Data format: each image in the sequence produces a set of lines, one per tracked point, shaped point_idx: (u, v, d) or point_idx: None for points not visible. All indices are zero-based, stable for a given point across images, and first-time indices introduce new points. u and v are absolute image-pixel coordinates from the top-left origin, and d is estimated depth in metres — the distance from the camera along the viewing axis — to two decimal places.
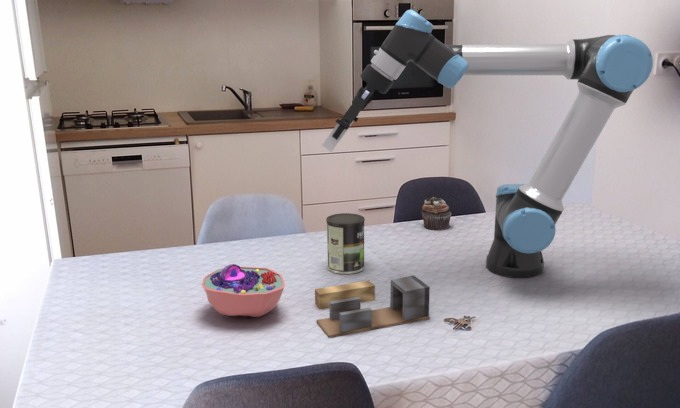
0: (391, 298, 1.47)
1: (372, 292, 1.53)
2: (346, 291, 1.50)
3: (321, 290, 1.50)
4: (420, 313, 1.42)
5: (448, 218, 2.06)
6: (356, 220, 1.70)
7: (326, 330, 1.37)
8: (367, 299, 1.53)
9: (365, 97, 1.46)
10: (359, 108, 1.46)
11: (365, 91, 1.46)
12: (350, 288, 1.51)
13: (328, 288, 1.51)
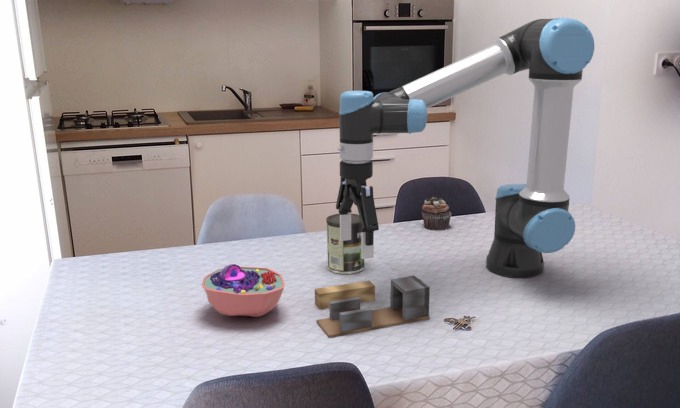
0: (391, 298, 1.47)
1: (372, 292, 1.53)
2: (346, 291, 1.50)
3: (321, 289, 1.51)
4: (420, 313, 1.42)
5: (448, 218, 2.06)
6: (356, 220, 1.70)
7: (326, 330, 1.37)
8: (367, 299, 1.53)
9: (369, 193, 1.41)
10: (373, 206, 1.40)
11: (366, 188, 1.40)
12: (350, 288, 1.51)
13: (328, 288, 1.51)
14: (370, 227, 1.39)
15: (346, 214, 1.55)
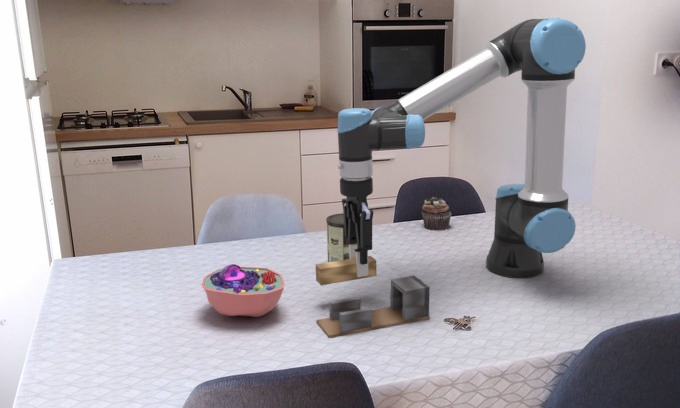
0: (391, 298, 1.47)
1: (374, 266, 1.51)
2: (347, 265, 1.49)
3: (322, 265, 1.49)
4: (420, 313, 1.42)
5: (448, 218, 2.06)
6: None
7: (326, 330, 1.37)
8: (369, 274, 1.51)
9: (369, 217, 1.43)
10: (370, 228, 1.44)
11: (366, 213, 1.42)
12: (351, 263, 1.50)
13: (329, 263, 1.50)
14: (364, 247, 1.45)
15: (355, 244, 1.52)
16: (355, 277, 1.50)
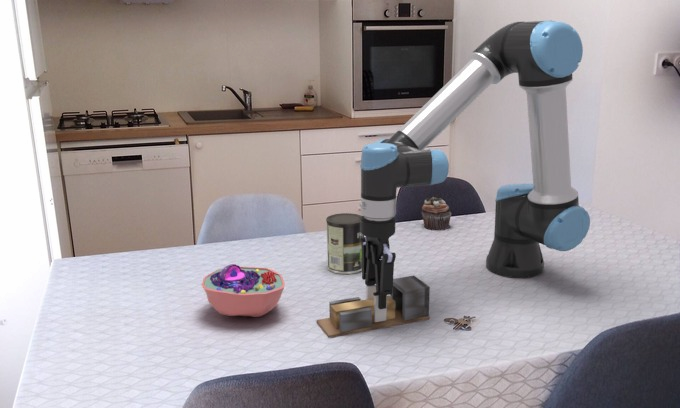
0: None
1: (393, 308, 1.42)
2: (365, 307, 1.39)
3: (337, 306, 1.39)
4: (420, 313, 1.42)
5: (448, 218, 2.06)
6: (356, 220, 1.70)
7: (326, 330, 1.37)
8: (387, 316, 1.42)
9: (391, 260, 1.33)
10: (391, 272, 1.35)
11: (388, 257, 1.32)
12: (368, 304, 1.40)
13: (345, 304, 1.40)
14: (384, 291, 1.36)
15: (373, 286, 1.43)
16: (372, 319, 1.41)
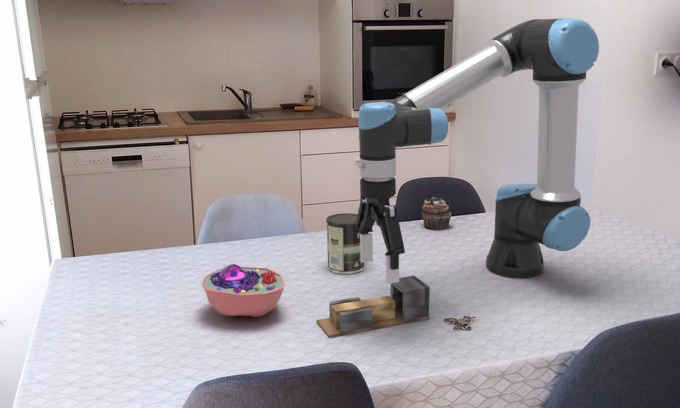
0: None
1: (393, 308, 1.42)
2: (365, 307, 1.39)
3: (337, 306, 1.39)
4: (420, 313, 1.42)
5: (448, 218, 2.06)
6: None
7: (326, 330, 1.37)
8: (387, 316, 1.42)
9: (394, 213, 1.30)
10: (398, 227, 1.30)
11: (390, 208, 1.30)
12: (368, 304, 1.40)
13: (345, 304, 1.40)
14: (396, 250, 1.29)
15: (367, 234, 1.45)
16: (372, 319, 1.41)
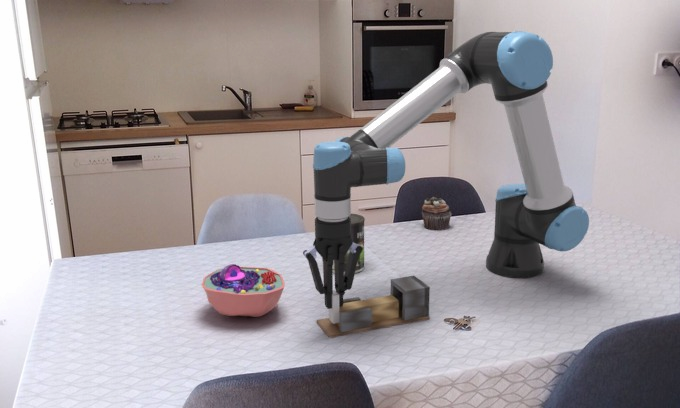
0: None
1: (396, 307, 1.42)
2: (368, 307, 1.39)
3: None
4: (420, 313, 1.42)
5: (448, 218, 2.06)
6: (356, 220, 1.70)
7: (326, 330, 1.37)
8: (390, 315, 1.42)
9: (308, 259, 1.33)
10: (313, 272, 1.33)
11: (304, 254, 1.33)
12: (372, 303, 1.40)
13: (349, 304, 1.40)
14: (317, 286, 1.36)
15: (335, 293, 1.37)
16: (376, 319, 1.41)
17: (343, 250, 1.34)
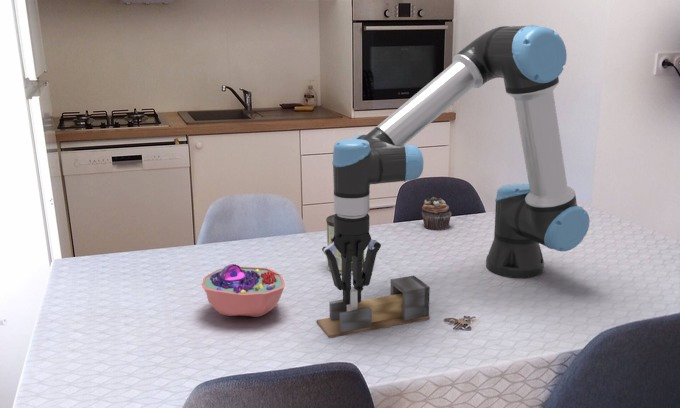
0: None
1: None
2: (386, 304, 1.41)
3: None
4: (420, 313, 1.42)
5: (448, 218, 2.06)
6: None
7: (326, 330, 1.37)
8: None
9: (327, 256, 1.34)
10: (332, 268, 1.35)
11: (323, 251, 1.34)
12: (389, 300, 1.42)
13: (366, 301, 1.42)
14: (335, 283, 1.38)
15: (353, 289, 1.39)
16: (393, 316, 1.42)
17: (362, 246, 1.35)
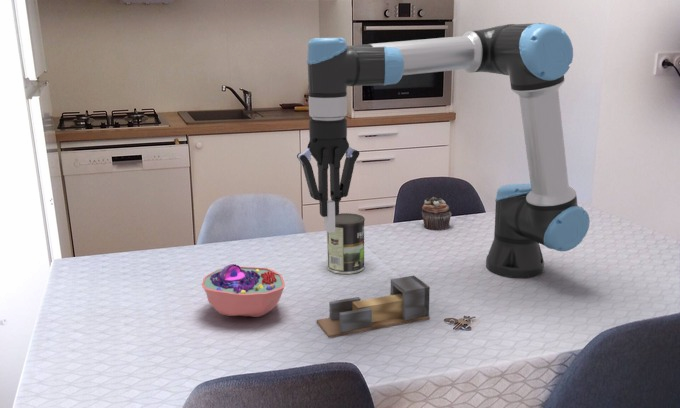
0: None
1: None
2: (386, 304, 1.41)
3: (359, 302, 1.41)
4: (420, 313, 1.42)
5: (448, 218, 2.06)
6: (356, 220, 1.70)
7: (326, 330, 1.37)
8: None
9: (302, 162, 1.27)
10: (307, 175, 1.28)
11: (298, 157, 1.27)
12: (390, 300, 1.42)
13: (366, 301, 1.42)
14: (311, 193, 1.31)
15: (331, 200, 1.32)
16: (393, 316, 1.42)
17: (339, 153, 1.28)
